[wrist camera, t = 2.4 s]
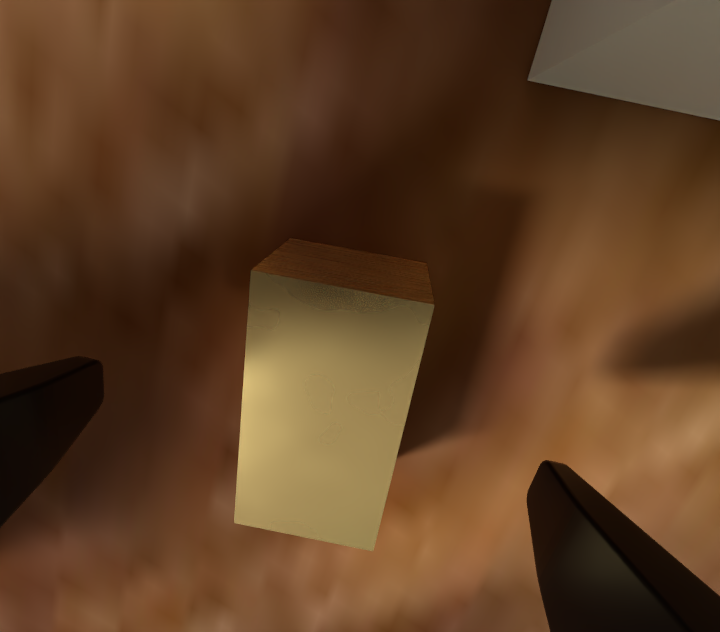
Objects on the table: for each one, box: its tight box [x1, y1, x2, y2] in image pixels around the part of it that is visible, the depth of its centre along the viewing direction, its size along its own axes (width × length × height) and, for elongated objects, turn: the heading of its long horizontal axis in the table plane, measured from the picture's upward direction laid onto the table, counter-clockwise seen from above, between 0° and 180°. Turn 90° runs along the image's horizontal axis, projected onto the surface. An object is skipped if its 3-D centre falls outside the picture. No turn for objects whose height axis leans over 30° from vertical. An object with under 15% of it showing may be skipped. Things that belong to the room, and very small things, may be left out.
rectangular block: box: [234, 238, 435, 551], centre depth 10 cm, size 3×6×3 cm, turn 171°
